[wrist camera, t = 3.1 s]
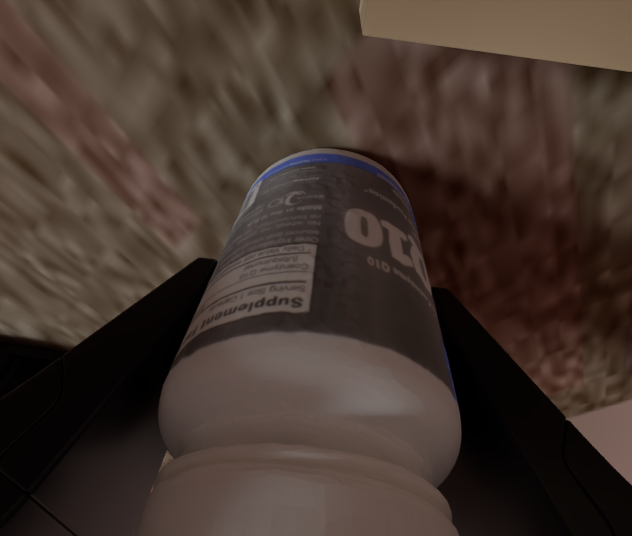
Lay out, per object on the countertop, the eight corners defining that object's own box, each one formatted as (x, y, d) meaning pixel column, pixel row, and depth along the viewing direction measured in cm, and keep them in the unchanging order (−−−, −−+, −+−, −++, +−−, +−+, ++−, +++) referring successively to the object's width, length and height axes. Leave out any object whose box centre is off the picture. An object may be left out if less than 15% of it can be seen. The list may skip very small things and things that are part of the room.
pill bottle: (438, 251, 11) (564, 687, 4) (303, 303, 13) (253, 664, 6) (363, 103, 8) (406, 625, 2) (208, 195, 10) (-35, 616, 4)
